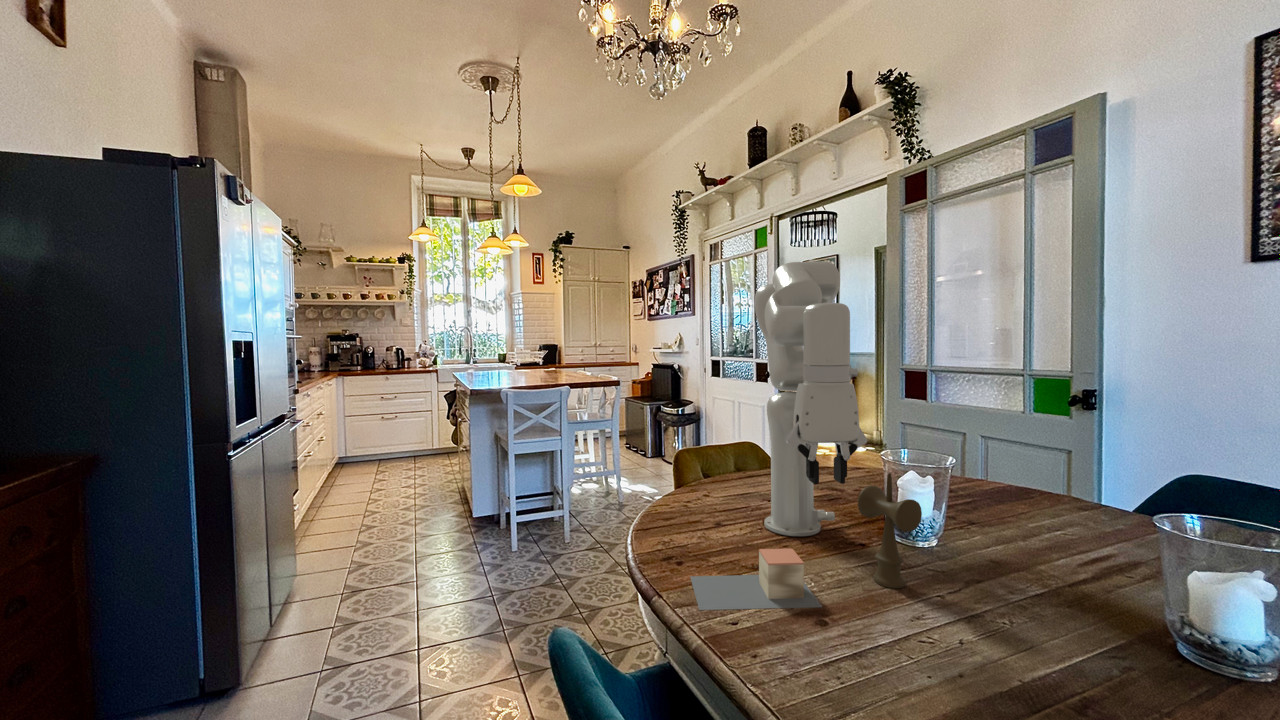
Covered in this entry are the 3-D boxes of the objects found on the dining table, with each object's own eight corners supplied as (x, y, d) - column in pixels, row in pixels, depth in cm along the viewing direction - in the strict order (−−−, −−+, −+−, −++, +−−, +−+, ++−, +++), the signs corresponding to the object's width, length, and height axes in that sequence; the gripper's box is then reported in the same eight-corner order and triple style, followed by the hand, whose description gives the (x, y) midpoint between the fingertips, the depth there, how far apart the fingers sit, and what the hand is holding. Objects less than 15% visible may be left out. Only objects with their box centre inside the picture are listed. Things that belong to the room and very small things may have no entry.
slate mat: (797, 576, 96) (797, 573, 96) (822, 609, 84) (822, 606, 84) (690, 578, 95) (690, 576, 95) (699, 612, 83) (699, 609, 83)
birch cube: (792, 581, 93) (792, 548, 92) (803, 598, 87) (803, 562, 86) (759, 582, 92) (758, 549, 92) (768, 598, 86) (768, 563, 86)
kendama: (881, 570, 98) (881, 465, 97) (924, 593, 89) (925, 477, 88) (855, 575, 96) (855, 468, 95) (897, 599, 86) (898, 481, 86)
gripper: (864, 374, 93) (864, 475, 93) (771, 375, 92) (772, 477, 93) (885, 376, 85) (885, 487, 86) (784, 378, 85) (785, 489, 85)
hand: (826, 480), depth 89 cm, fingers open, 3 cm apart
